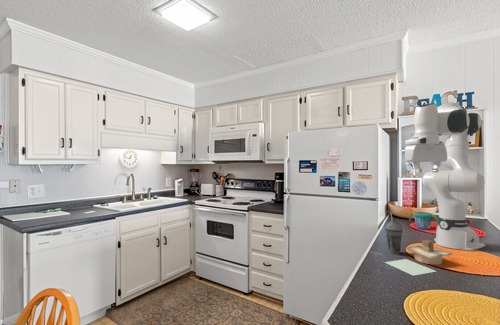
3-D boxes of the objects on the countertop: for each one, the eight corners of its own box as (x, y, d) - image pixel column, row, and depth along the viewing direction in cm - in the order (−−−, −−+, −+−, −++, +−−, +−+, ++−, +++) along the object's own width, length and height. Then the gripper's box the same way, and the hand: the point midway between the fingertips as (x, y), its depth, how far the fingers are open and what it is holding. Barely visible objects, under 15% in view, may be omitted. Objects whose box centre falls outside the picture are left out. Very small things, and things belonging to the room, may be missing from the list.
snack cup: (440, 229, 166) (440, 213, 166) (433, 232, 159) (433, 215, 160) (413, 225, 178) (413, 210, 178) (406, 227, 172) (406, 212, 172)
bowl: (425, 255, 119) (425, 247, 120) (447, 263, 110) (447, 254, 110) (409, 258, 117) (409, 249, 117) (430, 266, 107) (430, 257, 107)
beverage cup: (405, 256, 119) (405, 213, 119) (388, 255, 120) (387, 213, 120) (399, 251, 126) (399, 210, 126) (383, 250, 127) (383, 210, 127)
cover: (425, 246, 121) (425, 236, 121) (452, 254, 109) (451, 243, 109) (405, 249, 117) (405, 238, 117) (430, 258, 106) (430, 246, 106)
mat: (406, 259, 115) (405, 259, 115) (436, 272, 101) (436, 271, 101) (384, 263, 111) (384, 262, 111) (413, 276, 98) (413, 275, 98)
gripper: (437, 141, 117) (437, 172, 117) (402, 141, 111) (402, 172, 111) (451, 140, 111) (452, 172, 111) (415, 139, 105) (415, 173, 105)
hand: (427, 172), depth 111 cm, fingers open, 8 cm apart
